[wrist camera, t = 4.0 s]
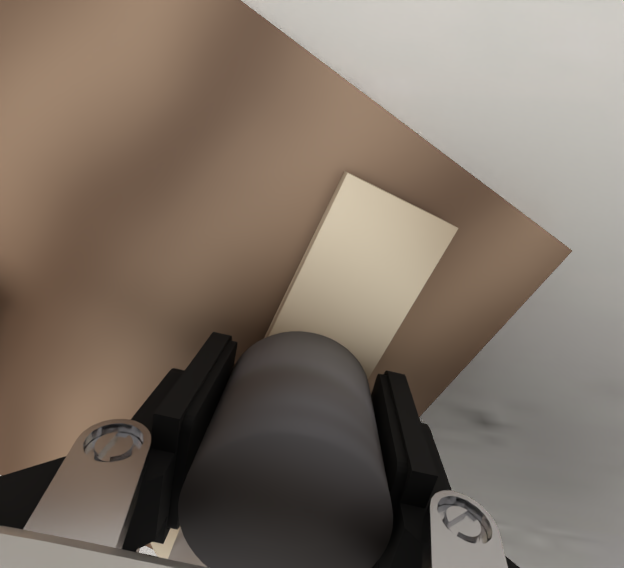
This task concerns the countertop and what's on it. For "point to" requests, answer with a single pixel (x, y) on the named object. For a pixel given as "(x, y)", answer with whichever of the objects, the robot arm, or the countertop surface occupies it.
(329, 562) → the link
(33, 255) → the board
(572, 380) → the countertop surface
